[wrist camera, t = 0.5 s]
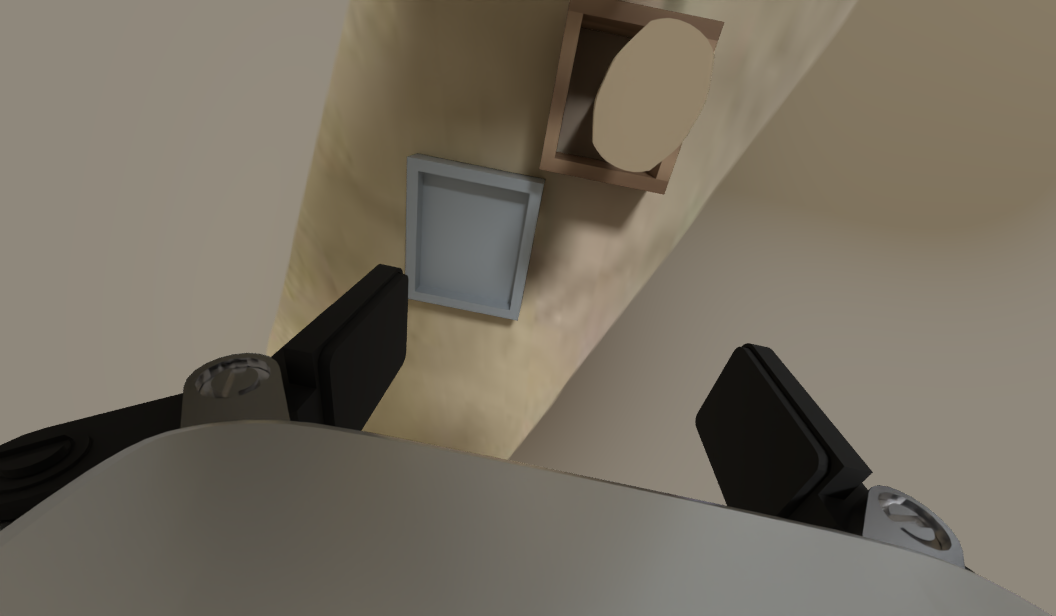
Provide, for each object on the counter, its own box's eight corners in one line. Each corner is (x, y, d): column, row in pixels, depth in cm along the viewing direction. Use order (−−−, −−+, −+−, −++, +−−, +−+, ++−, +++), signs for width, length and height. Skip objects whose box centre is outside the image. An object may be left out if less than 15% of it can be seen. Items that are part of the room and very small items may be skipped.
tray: (417, 153, 34) (407, 156, 32) (545, 179, 34) (543, 184, 32) (413, 287, 41) (405, 298, 39) (520, 309, 41) (517, 320, 39)
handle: (661, 74, 30) (737, 49, 16) (620, 154, 33) (656, 186, 19) (607, 46, 29) (641, -3, 16) (571, 129, 32) (574, 146, 19)
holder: (571, 8, 28) (571, -10, 24) (700, 35, 28) (724, 22, 24) (542, 161, 33) (539, 169, 29) (651, 182, 34) (664, 194, 29)
